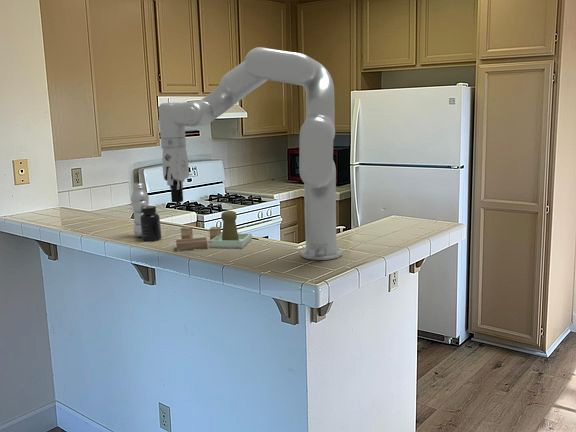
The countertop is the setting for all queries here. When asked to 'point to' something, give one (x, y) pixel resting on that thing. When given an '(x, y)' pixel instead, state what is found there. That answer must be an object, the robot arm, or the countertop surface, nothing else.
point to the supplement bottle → (150, 224)
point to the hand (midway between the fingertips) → (177, 201)
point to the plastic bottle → (139, 205)
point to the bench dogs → (187, 233)
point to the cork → (229, 226)
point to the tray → (242, 242)
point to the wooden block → (191, 243)
